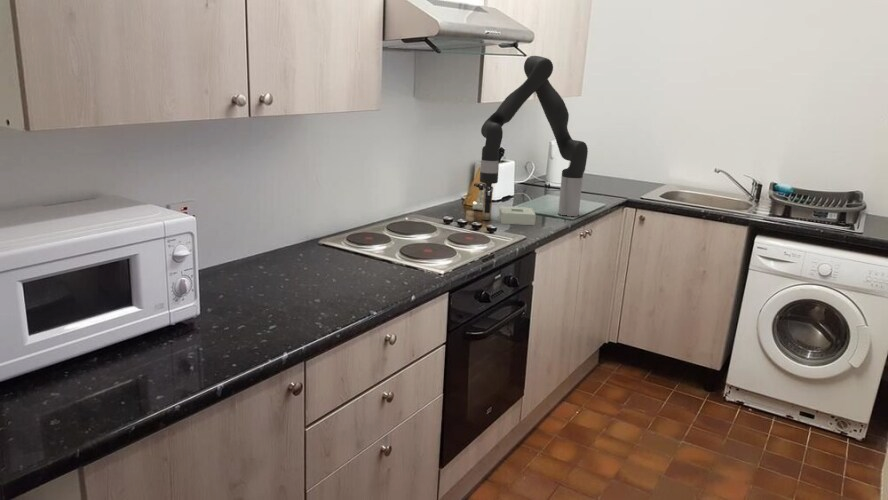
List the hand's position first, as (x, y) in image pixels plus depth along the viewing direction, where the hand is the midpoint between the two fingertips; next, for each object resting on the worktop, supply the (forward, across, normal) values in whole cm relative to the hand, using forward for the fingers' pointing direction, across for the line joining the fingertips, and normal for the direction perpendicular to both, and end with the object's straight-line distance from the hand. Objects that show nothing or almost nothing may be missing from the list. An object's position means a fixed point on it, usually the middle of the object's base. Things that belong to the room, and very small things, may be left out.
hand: (486, 211), depth 273 cm
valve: (+4, +20, +2) cm, 20 cm away
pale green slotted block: (+4, +2, -13) cm, 14 cm away
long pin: (+3, 0, 0) cm, 3 cm away
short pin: (+4, -2, +7) cm, 8 cm away
